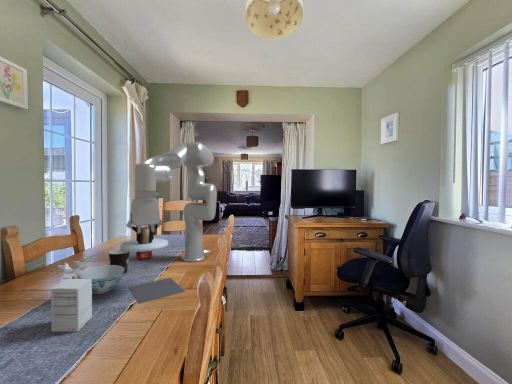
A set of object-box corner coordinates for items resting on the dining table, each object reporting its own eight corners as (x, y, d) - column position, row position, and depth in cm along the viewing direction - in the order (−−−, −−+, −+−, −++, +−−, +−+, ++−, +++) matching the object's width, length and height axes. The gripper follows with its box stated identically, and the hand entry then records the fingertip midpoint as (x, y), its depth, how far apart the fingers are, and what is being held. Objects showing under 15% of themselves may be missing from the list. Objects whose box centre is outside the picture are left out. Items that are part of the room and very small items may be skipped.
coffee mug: (120, 277, 111) (120, 254, 111) (104, 275, 113) (104, 253, 113) (137, 268, 123) (138, 248, 123) (122, 266, 125) (122, 246, 124)
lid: (159, 238, 110) (160, 223, 109) (174, 247, 97) (175, 229, 96) (116, 244, 99) (116, 226, 98) (126, 254, 86) (126, 234, 85)
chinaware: (90, 304, 87) (91, 282, 86) (71, 293, 95) (71, 273, 94) (132, 289, 99) (132, 270, 99) (111, 280, 107) (111, 262, 107)
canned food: (154, 257, 142) (155, 237, 141) (144, 261, 134) (144, 240, 134) (144, 255, 144) (144, 236, 144) (133, 259, 137) (133, 239, 136)
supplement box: (67, 318, 78) (67, 278, 77) (92, 317, 78) (92, 278, 78) (50, 332, 70) (50, 288, 70) (78, 332, 71) (78, 288, 70)
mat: (170, 279, 111) (170, 277, 111) (185, 292, 97) (185, 291, 97) (127, 288, 100) (128, 286, 100) (138, 305, 87) (138, 303, 87)
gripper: (163, 194, 105) (162, 238, 106) (119, 195, 95) (119, 243, 95) (170, 195, 99) (169, 241, 100) (124, 196, 89) (123, 247, 89)
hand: (145, 242), depth 98 cm, fingers closed on lid, 3 cm apart
